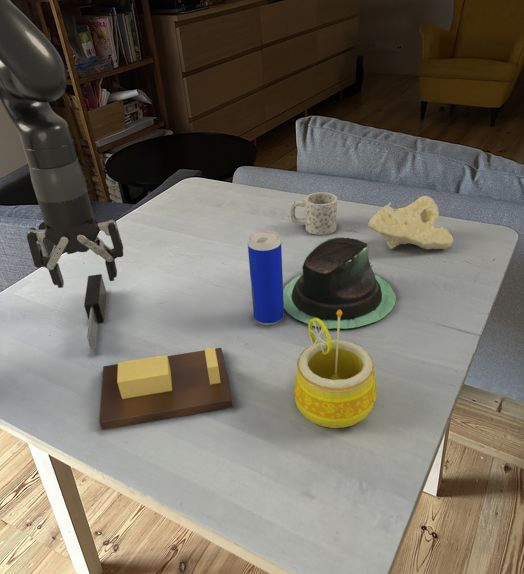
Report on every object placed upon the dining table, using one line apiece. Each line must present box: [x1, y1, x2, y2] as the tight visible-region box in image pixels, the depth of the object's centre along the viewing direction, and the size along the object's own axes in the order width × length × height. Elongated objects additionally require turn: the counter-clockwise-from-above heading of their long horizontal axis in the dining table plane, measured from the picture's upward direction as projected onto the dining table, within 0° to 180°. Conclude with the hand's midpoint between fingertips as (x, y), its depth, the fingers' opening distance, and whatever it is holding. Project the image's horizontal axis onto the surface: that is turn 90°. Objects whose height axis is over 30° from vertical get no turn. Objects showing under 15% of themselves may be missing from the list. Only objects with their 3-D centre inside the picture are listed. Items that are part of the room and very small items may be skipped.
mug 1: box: [289, 191, 338, 236], centre depth 114 cm, size 10×7×7 cm, turn 77°
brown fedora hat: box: [283, 236, 397, 330], centre depth 92 cm, size 15×19×20 cm
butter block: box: [117, 354, 172, 399], centre depth 76 cm, size 7×4×3 cm, turn 101°
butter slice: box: [204, 346, 220, 385], centre depth 77 cm, size 2×4×3 cm, turn 11°
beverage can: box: [247, 229, 285, 326], centre depth 86 cm, size 5×5×15 cm
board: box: [98, 347, 234, 431], centre depth 77 cm, size 18×12×2 cm, turn 101°
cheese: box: [367, 195, 454, 250], centre depth 106 cm, size 15×7×15 cm
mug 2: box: [293, 310, 377, 429], centre depth 70 cm, size 13×11×12 cm
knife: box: [83, 273, 107, 356], centre depth 91 cm, size 19×2×4 cm, turn 11°
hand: (87, 282), depth 92 cm, fingers open, 8 cm apart
